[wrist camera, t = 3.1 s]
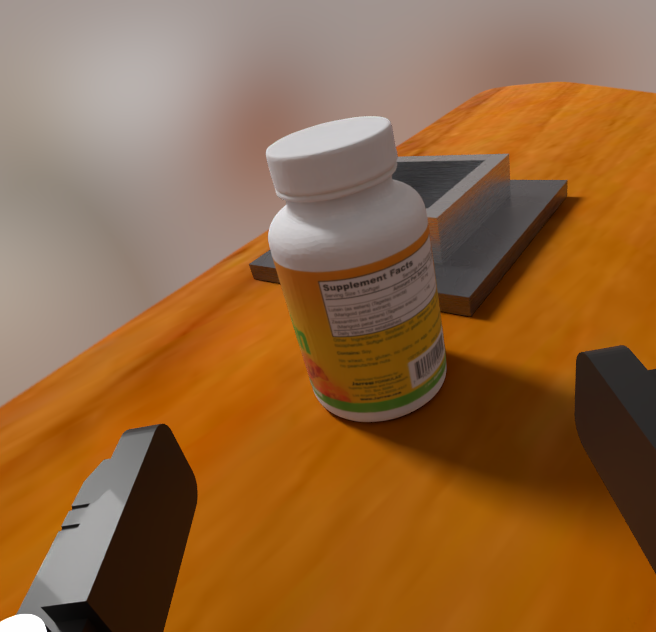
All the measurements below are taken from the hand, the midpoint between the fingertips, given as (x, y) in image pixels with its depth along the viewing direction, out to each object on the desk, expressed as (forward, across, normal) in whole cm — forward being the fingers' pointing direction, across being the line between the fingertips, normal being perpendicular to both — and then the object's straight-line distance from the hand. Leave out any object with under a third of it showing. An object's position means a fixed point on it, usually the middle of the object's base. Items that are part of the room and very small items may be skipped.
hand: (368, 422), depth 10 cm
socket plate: (+22, -3, +6) cm, 23 cm away
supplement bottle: (+9, 0, +6) cm, 11 cm away
